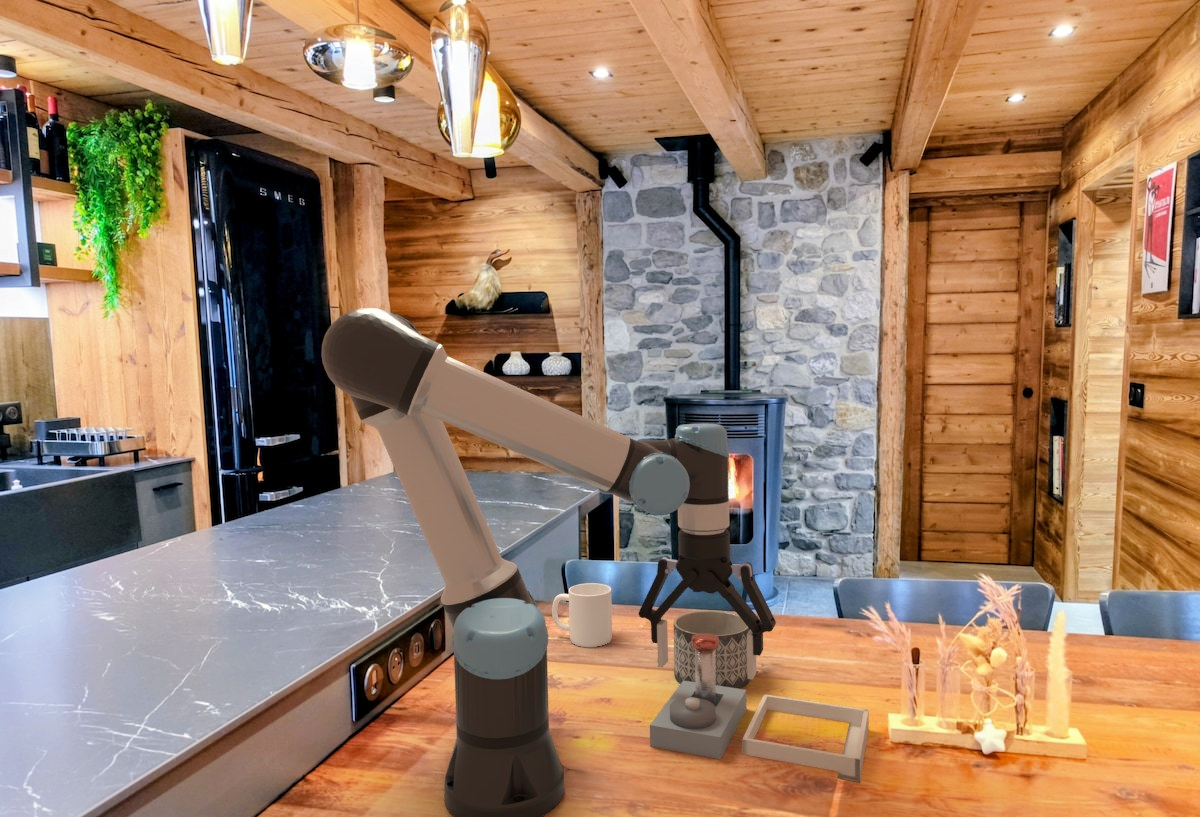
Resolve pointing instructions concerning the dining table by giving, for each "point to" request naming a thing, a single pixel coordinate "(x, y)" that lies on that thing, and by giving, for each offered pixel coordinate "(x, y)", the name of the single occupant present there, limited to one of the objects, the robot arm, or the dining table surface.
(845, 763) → the tray
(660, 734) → the block
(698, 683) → the lock pin
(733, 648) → the planter
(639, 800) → the dining table surface
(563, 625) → the cup
